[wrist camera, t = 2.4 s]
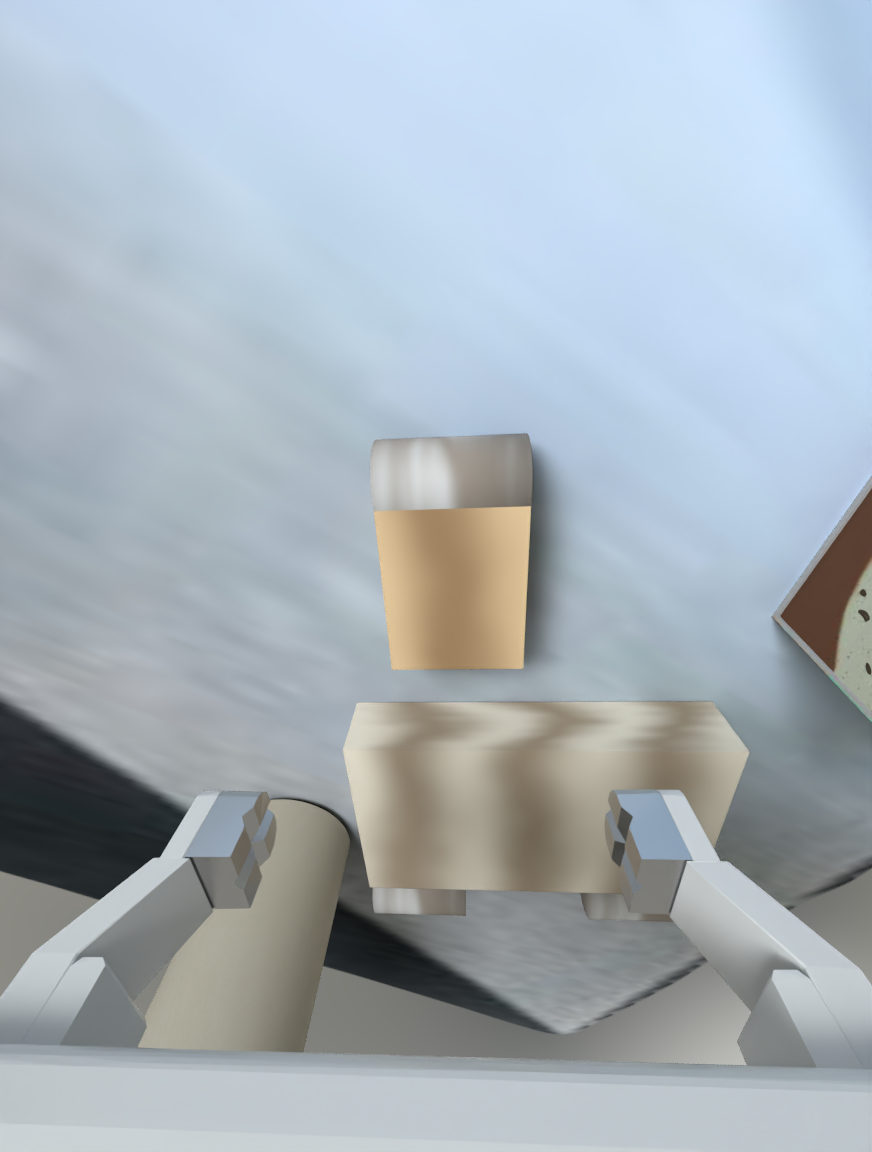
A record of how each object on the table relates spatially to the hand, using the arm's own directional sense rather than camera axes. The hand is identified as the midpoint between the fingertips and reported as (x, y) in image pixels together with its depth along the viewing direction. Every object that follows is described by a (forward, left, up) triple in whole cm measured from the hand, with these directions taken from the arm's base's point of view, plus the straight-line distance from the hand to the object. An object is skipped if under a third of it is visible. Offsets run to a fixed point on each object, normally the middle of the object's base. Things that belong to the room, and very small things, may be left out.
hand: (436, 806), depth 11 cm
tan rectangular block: (0, -2, -13) cm, 13 cm away
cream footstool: (-4, +16, -13) cm, 21 cm away
